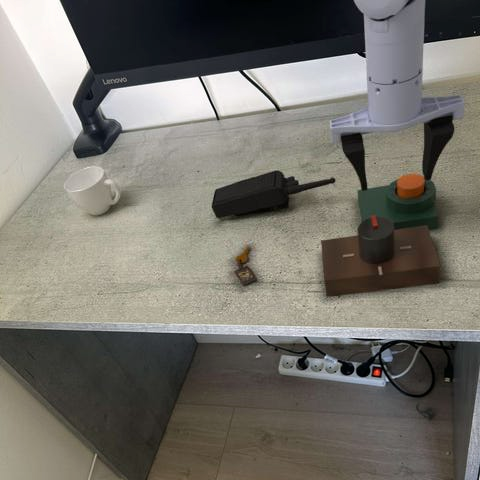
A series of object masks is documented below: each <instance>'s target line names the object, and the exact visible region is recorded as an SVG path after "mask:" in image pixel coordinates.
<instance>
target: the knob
mask: <svg viewBox="0 0 480 480" xmlns="http://www.w3.org/2000/svg"><path fill="white" fill-rule="evenodd" d="M357 235H358V243H359V255H360V257H361V258H362V259H363V260H364V261H366V262H369V263H382V262H385V261H387V260H389V259H390V258H391V257H392V256H393V254H394V224H393V222H392V221H390V220H389V219H387V218H384V217H376V215H373V216H371V218H368V219H366V220H364V221H363V222H362V221H361V222H360V223H359V224H358V226H357Z"/></svg>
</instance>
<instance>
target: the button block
mask: <svg viewBox="0 0 480 480" xmlns="http://www.w3.org/2000/svg"><path fill="white" fill-rule="evenodd" d="M422 177H423V178H424V176H422ZM398 179H399V178H397V179H394V180H393V181H391V182H390V183H389V184H386V185H380V186H375V187H367V190H365V191H362V189H357V203H358V210H359V214H360V220H361V222H363V221H364V220H366V219H368V218H371V216H373V215H376V217H384V218H387V219H389V220H390V221H392V222H393V224H394V230H397V229H404V228H411V227H418V226H424V225H427V226H428V229H429V230H436V229H438V228H439V221H440V220H439V218H440V216H439V212H438V209H437V206H436V204H435V201H436V197H437V188H436V185H435V182H434V181H432V179H431V180H426V181H425V183H424V193H423V194H422V195H421V196H419V197H416V198H410V199H407V198H401V197H400V196H398V194H397V181H398ZM424 180H425V178H424Z"/></svg>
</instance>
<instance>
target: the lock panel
mask: <svg viewBox="0 0 480 480" xmlns="http://www.w3.org/2000/svg"><path fill="white" fill-rule="evenodd" d="M320 244H321V245H320V246H321V258H322V269H323V270H322V271H323V283H324V288H325V294H326V297H335V296H342V295H351V294H359V293H368V292H376V291H383V290H394V289H401V288H410V287H417V286H425V285H427V286H428V285H435V284H439V282H440V270H441V264H440V262H439V258H438V255H437V251H436V248H435V246H434V242H433V238H432V235H431V232H430V229H428V226H427V225H424V226H418V227H411V228H404V229H397V230H394V254H393V256H392V257H391V258H390V259H389V260H387V261H385V262H382V263H369V262H366V261H364V260H363V259H362V258H361V257H360V255H359V243H358V234H357V235H350V236H343V237H336V238H330V239H329V238H327V239H323V240H322V239H321V240H320Z"/></svg>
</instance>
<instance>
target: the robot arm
mask: <svg viewBox="0 0 480 480" xmlns="http://www.w3.org/2000/svg"><path fill="white" fill-rule="evenodd" d="M353 2H354V4H355V6H356V7H357V8H358V10H359V11H360V12H361V13H362V14H363V25H364V28H363V29H364V46H365V65H366V67H365V68H366V69H365V71H366V89H367V91H366V92H367V107H366V108H363V109H360V110H357V111H355V112H351V113H350V114H346V115H344V116H341V117H337V118H335V119H334V118H333V119H329V129H330V130H329V131H330V138H331V139H330V140H331V144H336V143H341V149H342V152H343V154H344V156H345V157H346V159H347V160H348V161H349V163H350V164H351V166H352V168H353V169H354V171H355V173H356V175H357V177H358V181H359V183H360V184H359V185H360V190H362V191H365V190H367V189H368V180H367V179H368V178H367V172H366V149H365V144H364V139H363V135H368V134H374V133H395V132H402V131H405V130H408V129H411V128H413V127H415V126H418V125H421V124H423V151H422V162H421V171H422V176H423V177H424V178H425V181H426V180H431V181H432V179H433V173H434V170H435V168H436V166H437V163H438V161H439V159H440V156H441V155H442V153H443V151H444V149H445V148H446V146H447V145H448V143H449V142H450V141H451V139H452V138H453V137H454V134H455V129H456V128H455V124H454V122H453V121H458V120H459V121H460V120H463V119H464V116H465V115H464V114H465V100H464V98H463V96H462V94H455V95H446V96H427V97H423V74H424V68H423V67H424V46H425V45H424V43H425V41H424V39H425V15H426V14H425V13H426V12H425V11H426V0H353Z"/></svg>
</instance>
